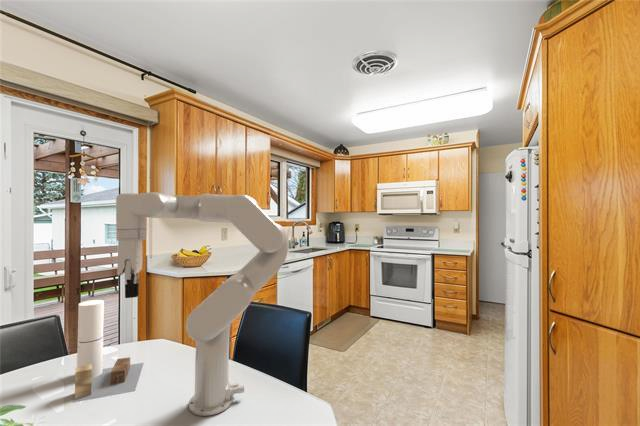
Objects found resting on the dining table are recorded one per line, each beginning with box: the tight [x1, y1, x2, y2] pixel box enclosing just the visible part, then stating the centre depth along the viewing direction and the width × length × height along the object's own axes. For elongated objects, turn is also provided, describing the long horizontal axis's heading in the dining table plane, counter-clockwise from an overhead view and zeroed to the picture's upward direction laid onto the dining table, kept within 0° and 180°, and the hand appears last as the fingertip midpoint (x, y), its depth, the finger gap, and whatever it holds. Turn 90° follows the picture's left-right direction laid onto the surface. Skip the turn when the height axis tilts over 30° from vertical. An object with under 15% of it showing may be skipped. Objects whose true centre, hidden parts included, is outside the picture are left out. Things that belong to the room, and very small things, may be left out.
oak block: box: [74, 364, 92, 399], centre depth 94 cm, size 4×4×8 cm
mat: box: [72, 362, 144, 403], centre depth 102 cm, size 16×20×1 cm
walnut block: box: [110, 356, 131, 385], centre depth 105 cm, size 4×4×10 cm
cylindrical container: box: [76, 299, 105, 378], centre depth 105 cm, size 7×7×25 cm
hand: (132, 296), depth 90 cm, fingers closed
